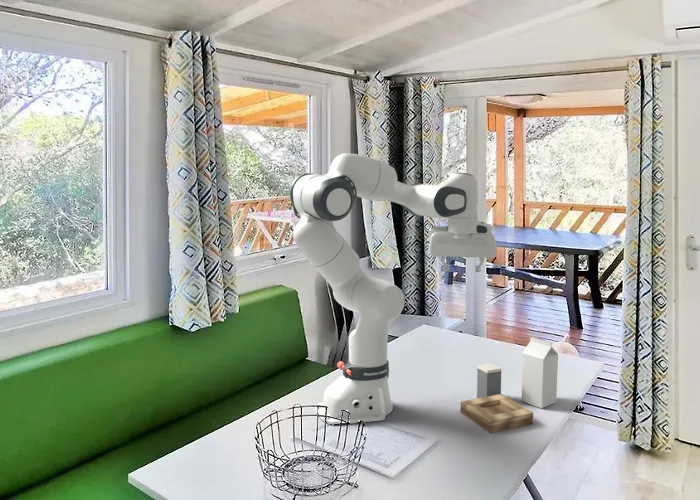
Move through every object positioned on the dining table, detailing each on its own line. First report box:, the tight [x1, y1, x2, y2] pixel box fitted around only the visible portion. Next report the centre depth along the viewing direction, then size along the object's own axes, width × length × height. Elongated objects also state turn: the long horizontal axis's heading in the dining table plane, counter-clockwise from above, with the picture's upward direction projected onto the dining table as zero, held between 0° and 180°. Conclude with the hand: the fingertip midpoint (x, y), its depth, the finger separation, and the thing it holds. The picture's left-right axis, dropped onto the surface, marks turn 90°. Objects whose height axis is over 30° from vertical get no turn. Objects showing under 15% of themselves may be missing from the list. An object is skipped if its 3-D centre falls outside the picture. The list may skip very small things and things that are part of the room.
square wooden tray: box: [460, 393, 534, 434], centre depth 159 cm, size 14×14×3 cm
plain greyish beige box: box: [476, 362, 502, 398], centre depth 172 cm, size 5×5×10 cm
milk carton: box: [521, 337, 559, 409], centre depth 168 cm, size 7×7×19 cm
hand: (462, 271), depth 175 cm, fingers open, 8 cm apart
